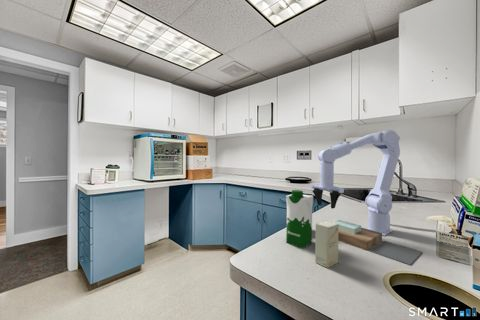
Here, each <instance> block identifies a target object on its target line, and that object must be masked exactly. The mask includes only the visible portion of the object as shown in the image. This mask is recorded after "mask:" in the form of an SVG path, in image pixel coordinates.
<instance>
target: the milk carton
mask: <svg viewBox="0 0 480 320" xmlns="http://www.w3.org/2000/svg"><path fill="white" fill-rule="evenodd" d="M285 201H286V235H285V236H286V240H285V241H286V243H287V244H290V245H293V246H295V247H298V248H302V249H305V248H306V247H307V246H309V245H310V244H312V241H313V206H314V205H313V204H314V195H310V194H304V191H303V190H298V189H294V190H291V194H288V195H285Z"/></svg>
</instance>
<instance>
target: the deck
mask: <svg viewBox="0 0 480 320" xmlns="http://www.w3.org/2000/svg"><path fill="white" fill-rule="evenodd" d="M338 242H342V243H344V244H346V245H351V246H353V247H356V248H359V249H362V250H366V251H369V249H370V250H371V249H372V248H374V247H375V246H377V244H378V245H379V244H380V242H381V243H382V242H383V235H382V233H380V232H376V231H373V230H369V229H365V227H361V231H359V232H357V233H355V234H353V233H349V232H346V231H343V230H339V229H338Z"/></svg>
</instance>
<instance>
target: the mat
mask: <svg viewBox="0 0 480 320" xmlns="http://www.w3.org/2000/svg"><path fill="white" fill-rule="evenodd" d="M369 252H370V253H373V254H376V255H379V256H382V257H384V258H388V259H390V260H394V261H396V262H399V263H403V264H406V265H408V266H411V265H412V264H413V263H414V262H415V261H416V260H417V259H418V258H419V257H420V255H421V254H423V250H417V249H414V248H412V247H407V246H404V245H400V244H397V243H393V242H390V241H387V240H384V241H381V243H378V245H375V246H374V247H372V248H371V249H370V250H369Z"/></svg>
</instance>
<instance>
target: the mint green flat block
mask: <svg viewBox="0 0 480 320" xmlns="http://www.w3.org/2000/svg"><path fill="white" fill-rule="evenodd" d="M333 222H334V223H338V224H339V225H338V229H339V230H343V231H346V232H349V233H353V234H355V233H357V232H359V231H361V228H362V225H359V224H356V223H352V222H348V221H344V220H340V219H339V220H336V221H333Z"/></svg>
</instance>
